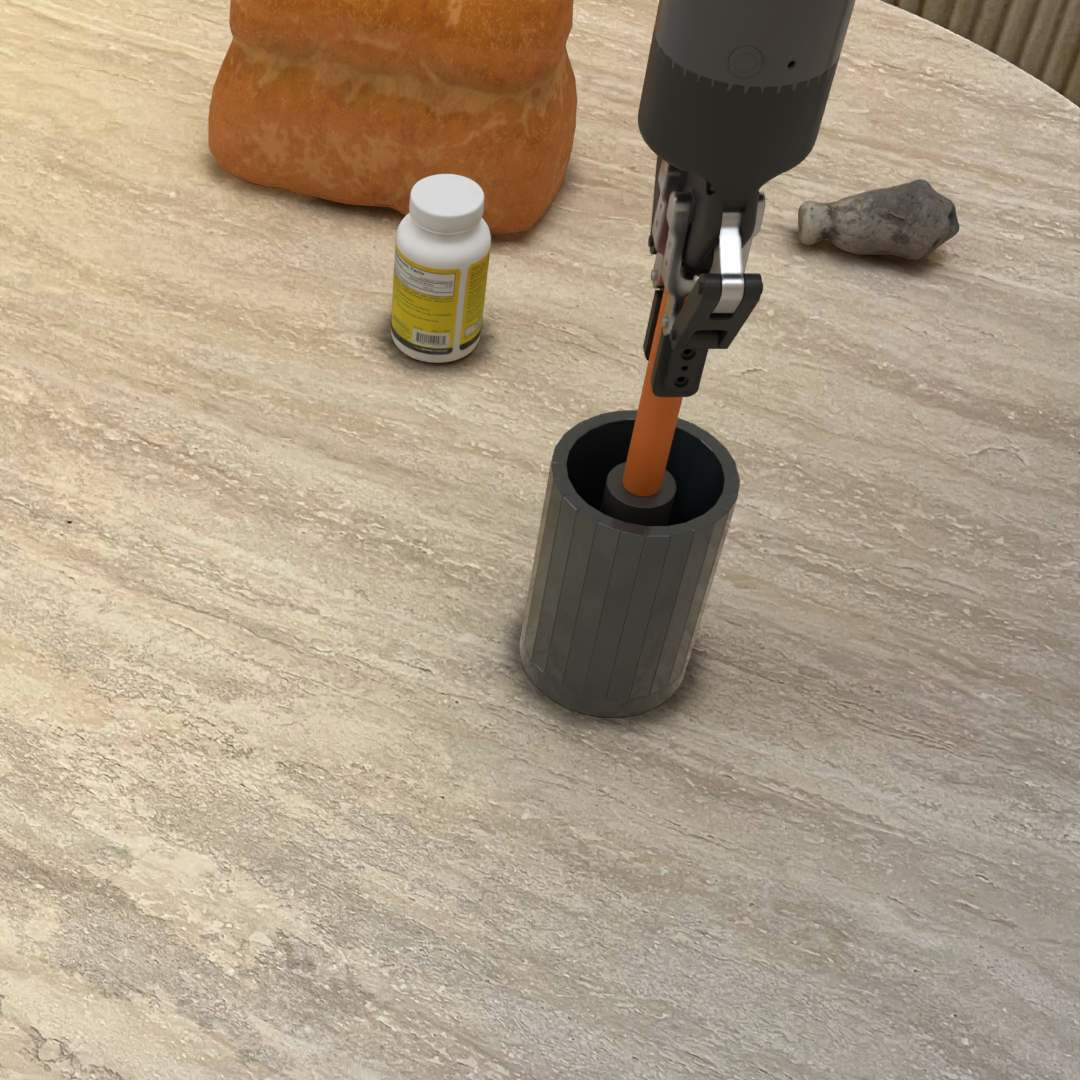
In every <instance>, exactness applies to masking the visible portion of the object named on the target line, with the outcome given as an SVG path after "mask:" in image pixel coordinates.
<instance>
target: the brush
mask: <svg viewBox="0 0 1080 1080" xmlns="http://www.w3.org/2000/svg"><path fill="white" fill-rule="evenodd" d="M667 296H668V293H667V291H666V289H665V288H664V293H663V297H662V302H661V306H660V311H659V316H658V320H657V325H656V329H655V334H654V338H653V343H652V347H651V352H650V356H649V361H647V366H646V371H645V375H644V380H643V384H642V387H641V394H640V398H639V403H638V407H637V410H638V411H637V416H636V420H635V425H634V429H633V434H632V438H631V443H630V447H629V452H628V457H627V461H626V462H624V463H621V464H619V465H617V466H615V467H614V468H613V469H612V470H611V471H610V472H609V474H608V476H607V480H606V484H605V489H604V494H603V499H602V503H601V508H600V512H601V513H603V514H605V515H607V516H610V517H612V518H615V519H618V520H620V521H623V522H627V523H632V524H638V525H643V526H667V525H668V521H669V517H670V513H671V509H672V505H673V501H674V497H675V493H676V483H675V480H674V478H673V477H672V475H671V474H670V473H669V472H668V471H667V470H666V469H665V468H666V464H667V460H668V456H669V452H670V448H671V444H672V440H673V436H674V431H675V427H676V423H677V419H678V418H679V415H680V411H681V407H682V402H683V398H684V397H658V396H655V395H654V394H653V392H652V387H651V382H650V380H651V375H652V371H653V366H654V362H655V357H656V353H657V348H658V344H659V339H660V335H661V330H662V326H661V321H662V317H664V312H665V306H666V301H667ZM688 296H689V295H688ZM688 296H686V297H685V299H684V302H683V305H684V303H685V301H686V300H687V298H688Z"/></svg>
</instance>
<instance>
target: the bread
mask: <svg viewBox="0 0 1080 1080" xmlns="http://www.w3.org/2000/svg"><path fill="white" fill-rule="evenodd" d="M229 3H230V4H229V21H228V23H229V29H230V33H231V35H232V38H231V42H230V45H229V47H228V49H227V50H226V54H225V56H224V58H223V60H222V63H221V65H220V67H219V71H218V73H217V76H216V79H215V82H214V84H213V87H212V92H211V98H210V103H209V109H208V121H207V123H208V126H207V127H208V129H207V131H208V137H207V138H208V142H207V143H208V148H209V151H210V153H211V155H212V156H213V158H214V159H215V160H216V162H217V164H218V165H219V167H220V168H222V169H223V170H225V171H227V172H229V173H230V174H232V175H234V176H235V177H237V178H239V179H241V180H242V181H245V182H247V183H252V184H256V185H259V186H265V187H272V188H273V187H274V188H282V189H284V190H288V191H291V192H293V193H295V194H299V195H305V196H309V197H315V198H319V199H323V200H326V201H331V202H335V203H339V204H342V205H343V204H344V205H348V206H349V205H350V206H365V207H378V208H380V207H381V208H391V209H393V210H395V211H396V212H399V213H400V214H402V215H404V216H406V215H407V214H408V213H409V203H410V194H411V190H412V188H413V186H414V185H415V184H416V183H417V182H418V181H420V180H422V179H424V178H426V177H429V176H432V175H437V174H455V175H460V176H464V177H467V178H469V179H471V180H473V181H474V182H476V183H477V184H478V185H479V186H480V187H481V189H482V190H483V193H484V211H483V215H482V218H483V219H484V221H485V222H486V224H487V225H488V227H489V231H490V234H491V235H496V236H497V235H504V234H512V233H518V232H519V233H520V232H524V231H527V230H530V229H532V227H533V226H534V225H535V224H536V223H537V222H538V221H539V220H540V219H541V218H542V216H544V215H545V214H546V213H547V211H548V209H549V207H550V206H551V204H552V202H553V201H554V199H555V197H556V195H557V193H558V192H559V190H560V188H561V186H562V184H563V182H564V179H565V175H566V173H567V168H568V166H569V162H570V159H571V154H572V151H573V146H574V141H575V134H576V128H577V110H578V109H577V108H578V92H577V82H576V81H577V80H576V75H575V73H574V69H573V67H572V62H571V60H570V57H569V56H570V55H569V52H568V49H567V42H568V39H569V36H570V34H571V31H572V29H573V22H574V21H573V20H574V0H230V2H229Z"/></svg>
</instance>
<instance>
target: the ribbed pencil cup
mask: <svg viewBox="0 0 1080 1080" xmlns="http://www.w3.org/2000/svg"><path fill="white" fill-rule="evenodd" d="M637 411H638V409H636V410H635V409H622V410H621V409H620V410H613V411H608V412H602V413H599V414H597V415H594V416H592V417H589V418H587V419H584V420H581V422H578V423H577V424H575V425H574V426H573V427H571V428H569V430H566V431H565V433H564V434H563V435H562V436H561V438H560V439H559V441H557V443H556V444H555V446H554V449H553V453H552V457H551V460H550V465H549V470H548V476H547V477H548V478H547V483H546V487H545V494H544V499H543V506H542V510H541V516H540V523H539V528H538V534H537V538H536V545H535V550H534V557H533V561H532V568H531V572H530V573H531V574H530V578H529V585H528V591H527V595H526V602H525V607H524V613H523V619H522V625H521V631H520V632H521V633H520V637H519V638H520V639H519V645H518V646H519V656H520V661H521V664H522V666H523V669H524V672H525V673H526V675H527V676H528V678H529V680H530V681H531V682H532V683H533V685H534V686H535V687H536V688H537V689H539V691H540V692H541V693H543V694H544V695H545V696H547V697H548V698H549V699H551V700H552V701H554V702H555V703H557V704H559V705H561V706H563V707H565V708H567V709H569V710H572V711H574V712H578V713H582V714H585V715H589V716H596V717H601V718H602V717H604V718H620V717H621V718H622V717H623V718H624V717H629V716H635V715H639V714H642V713H646V712H649V711H651V710H653V709H655V708H657V707H659V706H660V705H662V704H663V703H665V702H666V701H668V700H669V699H670V698H671V697H672V696H673V695H674V694H675V693H676V691H677V690H678V688H679V687H680V686H681V684H682V682H683V679H684V677H685V674H686V670H687V667H688V663H689V662H690V658H691V656H692V652H693V649H694V646H695V642H696V639H697V635H698V632H699V629H700V625H701V623H702V620H703V619H702V618H703V616H704V612H705V609H706V605H707V602H708V599H709V596H710V592H711V589H712V585H713V583H714V579H715V575H716V572H717V568H718V566H719V561H720V560H721V559H720V558H721V554H722V551H723V548H724V546H725V545H724V544H725V542H726V538H727V534H728V531H729V528H730V524H731V521H732V518H733V515H734V511H735V507H736V505H737V501H738V498H739V493H740V485H741V479H740V475H739V470H738V466H737V463H736V460H735V459H734V457H733V455H731V452H730V451H729V450H728V448H727V447H725V445H723V443H722V442H720V441H719V440H718V439H717V438H716V437H715V435H713V434H711V433H710V432H709V431H708V430H705V429H704V428H702V427H701V426H699V425H697V424H695V423H693V422H690V421H689V420H686V419H683V418H680V417H678V419H677V423H676V427H675V431H674V436H673V440H672V444H671V448H670V452H669V456H668V460H667V464H666V468H665V469H666V470H667V471H668V472H669V473H670V474H671V475H672V477H673V478H674V480H675V483H676V493H675V497H674V501H673V505H672V509H671V513H670V517H669V521H668V525H667V526H643V525H638V524H632V523H627V522H623V521H620V520H618V519H615V518H612V517H610V516H607V515H605V514H603V513H601V512H600V508H601V503H602V499H603V494H604V489H605V484H606V480H607V476H608V474H609V472H610V471H611V470H612V469H613V468H614V467H615V466H617V465H619V464H621V463H624V462H626V461H627V457H628V452H629V447H630V443H631V438H632V434H633V429H634V425H635V420H636V416H637Z"/></svg>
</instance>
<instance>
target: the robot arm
mask: <svg viewBox="0 0 1080 1080" xmlns="http://www.w3.org/2000/svg"><path fill="white" fill-rule="evenodd" d="M855 4H856V0H658V5H657V10H656V16H655V21H654V26H653V31H652V36H651V42H650V46H649V53H648V57H647V62H646V68H645V72H644V73H645V74H644V80H643V84H642V89H641V94H640V101H639V106H638V110H637V111H638V112H637V125H638V130H639V133H640V136H641V137H642V140H643V141H644V143H645V144H646V146H647V147H648V148H649V149H650V150H651V151H652V152H653V153H654V155H656V163H655V165H656V166H655V177H654V188H653V198H652V212H651V221H650V222H651V223H650V234H649V236H648V239H647V240H648V241H647V247H648V248H649V253H650V255H654V256H656V257H655V259H654V264H653V267H652V269H651V270H650V271H651V272H650V281H652V288H653V289H654V293H653V296H652V297H653V298H652V303H651V307H650V312H649V316H648V320H647V326H646V330H645V334H644V335H645V336H644V340H643V345H642V349H643V354H644V357H645V360H646V361H647V362H648V361H649V356H650V352H651V347H652V343H653V338H654V334H655V329H656V325H657V320H658V316H659V311H660V306H661V302H662V297H663V293H664V288H665V289H666V291H667V293H668V296H667V301H666V306H665V312H664V317H662V321H661V326H662V330H661V335H660V339H659V344H658V348H657V353H656V357H655V362H654V366H653V371H652V375H651V380H650V382H651V387H652V392H653V394H654V395H655V396H658V397H683V398H688V397H689V398H690V397H692V396H694V395H695V394H696V393H698V391H699V388H700V384H701V380H702V377H703V372H704V368H705V364H706V360H707V357H708V353H709V350H728V349H729V348H730V346H731V345H732V343H733V341H734V340H735V338H736V337H737V336H738V334H739V333H740V331H741V329H742V327H743V326H744V325H745V323H746V322H747V320H748V318H749V317H750V316H751V314H752V312H753V311H754V309H755V308H756V306H757V305H758V303H759V302H760V300H761V296H762V295H763V291H764V283H763V278H762V274H761V273H759V272H758V273H757V272H753V273H748V272H747V273H746V268H747V263H748V259H749V255H750V251H751V247H752V243H753V240H754V238H756V236H757V235H759V233H760V231H761V229H762V228H761V227H762V223H763V220H764V215H765V210H766V195H765V192H764V191H760V189H761V188H763V186H765V185H766V184H767V183H769V182H770V181H771V180H773V179H774V178H777V177H779V176H781V175H782V174H785V173H787V172H789V171H791V170H792V169H794V168H795V167H797V166H799V165H800V164H801V163H802V162H803V161H805V160H806V158H808V156H809V155H810V154H811V152H812V150H813V149H814V147H815V146H816V142H817V139H818V135H819V132H820V129H821V125H822V121H823V119H824V114H825V110H826V107H827V104H828V100H829V97H830V93H831V89H832V86H833V82H834V80H835V79H834V78H835V75H836V72H837V68H838V65H839V61H840V57H841V55H842V54H841V53H842V50H843V47H844V43H845V39H846V36H847V32H848V29H849V26H850V22H851V18H852V15H853V11H854V8H855ZM688 295H689V296H688ZM686 296H688V298H687V300H686V301H685V303H684V305H683V302H684V299H685V297H686Z"/></svg>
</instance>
